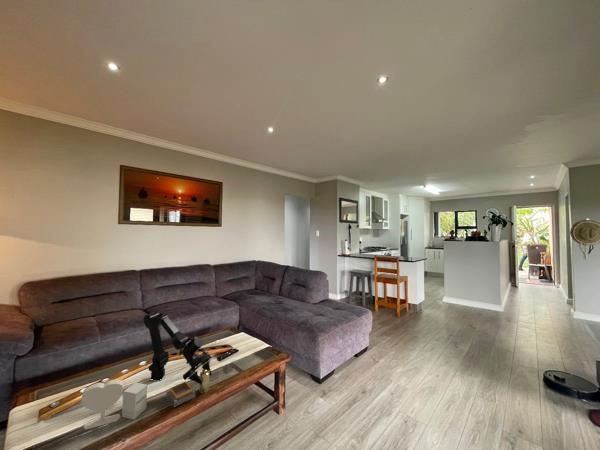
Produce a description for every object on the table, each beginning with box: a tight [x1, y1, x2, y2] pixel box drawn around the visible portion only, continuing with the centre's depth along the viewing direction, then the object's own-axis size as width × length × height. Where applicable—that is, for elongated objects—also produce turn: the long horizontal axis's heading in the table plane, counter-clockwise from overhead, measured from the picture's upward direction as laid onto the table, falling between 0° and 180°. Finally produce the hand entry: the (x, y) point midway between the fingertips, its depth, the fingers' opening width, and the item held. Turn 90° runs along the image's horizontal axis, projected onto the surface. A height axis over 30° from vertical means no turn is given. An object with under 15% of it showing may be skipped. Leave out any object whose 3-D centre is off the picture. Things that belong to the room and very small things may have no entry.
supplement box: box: [121, 382, 148, 420], centre depth 124 cm, size 7×7×13 cm
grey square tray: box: [165, 380, 196, 408], centre depth 136 cm, size 11×11×5 cm
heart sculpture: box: [80, 379, 125, 430], centre depth 118 cm, size 16×5×18 cm, turn 118°
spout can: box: [198, 368, 210, 393], centre depth 142 cm, size 6×5×12 cm
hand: (206, 379), depth 142 cm, fingers open, 8 cm apart
